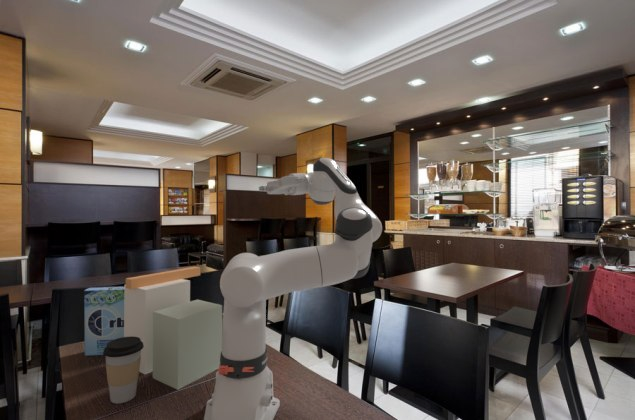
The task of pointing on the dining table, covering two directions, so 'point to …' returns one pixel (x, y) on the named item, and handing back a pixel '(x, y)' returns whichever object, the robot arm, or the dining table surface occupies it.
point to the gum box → (103, 317)
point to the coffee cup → (123, 367)
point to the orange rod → (161, 277)
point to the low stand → (186, 342)
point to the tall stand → (150, 312)
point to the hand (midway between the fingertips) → (263, 186)
